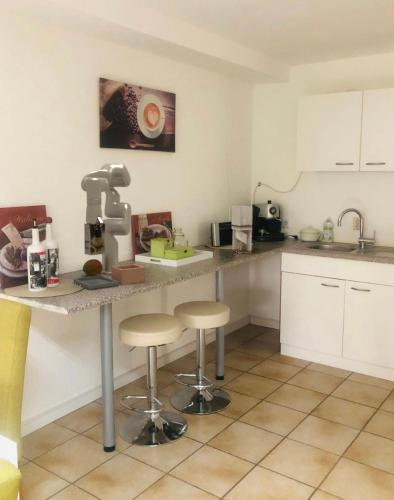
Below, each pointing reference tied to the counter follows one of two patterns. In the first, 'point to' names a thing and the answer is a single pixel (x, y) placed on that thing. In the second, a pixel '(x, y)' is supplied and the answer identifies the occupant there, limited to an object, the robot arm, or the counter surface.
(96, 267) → the fruit
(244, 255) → the counter surface
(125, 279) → the terracotta open box
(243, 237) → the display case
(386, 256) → the counter surface
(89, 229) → the coffee box
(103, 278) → the tray
